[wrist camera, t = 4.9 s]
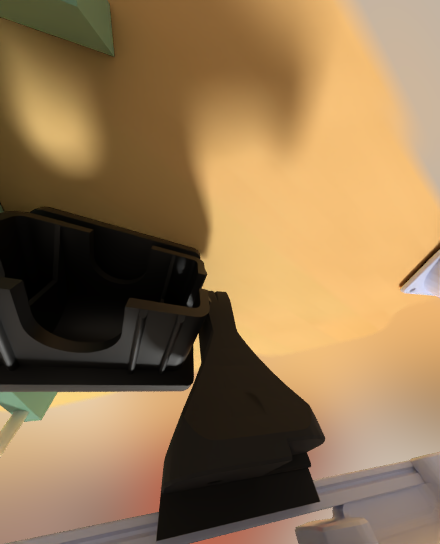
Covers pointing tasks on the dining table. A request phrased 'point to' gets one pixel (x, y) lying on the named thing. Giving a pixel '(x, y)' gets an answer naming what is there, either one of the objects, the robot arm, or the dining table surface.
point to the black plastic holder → (95, 306)
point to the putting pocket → (61, 23)
